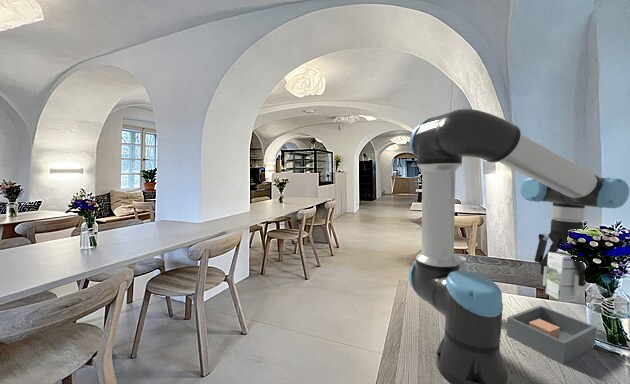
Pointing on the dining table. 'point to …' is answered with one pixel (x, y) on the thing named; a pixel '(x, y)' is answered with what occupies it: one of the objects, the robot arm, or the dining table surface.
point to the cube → (545, 327)
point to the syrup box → (560, 277)
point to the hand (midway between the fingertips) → (560, 289)
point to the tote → (568, 346)
